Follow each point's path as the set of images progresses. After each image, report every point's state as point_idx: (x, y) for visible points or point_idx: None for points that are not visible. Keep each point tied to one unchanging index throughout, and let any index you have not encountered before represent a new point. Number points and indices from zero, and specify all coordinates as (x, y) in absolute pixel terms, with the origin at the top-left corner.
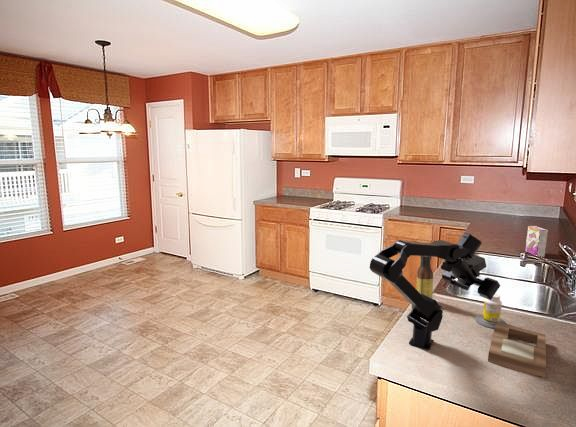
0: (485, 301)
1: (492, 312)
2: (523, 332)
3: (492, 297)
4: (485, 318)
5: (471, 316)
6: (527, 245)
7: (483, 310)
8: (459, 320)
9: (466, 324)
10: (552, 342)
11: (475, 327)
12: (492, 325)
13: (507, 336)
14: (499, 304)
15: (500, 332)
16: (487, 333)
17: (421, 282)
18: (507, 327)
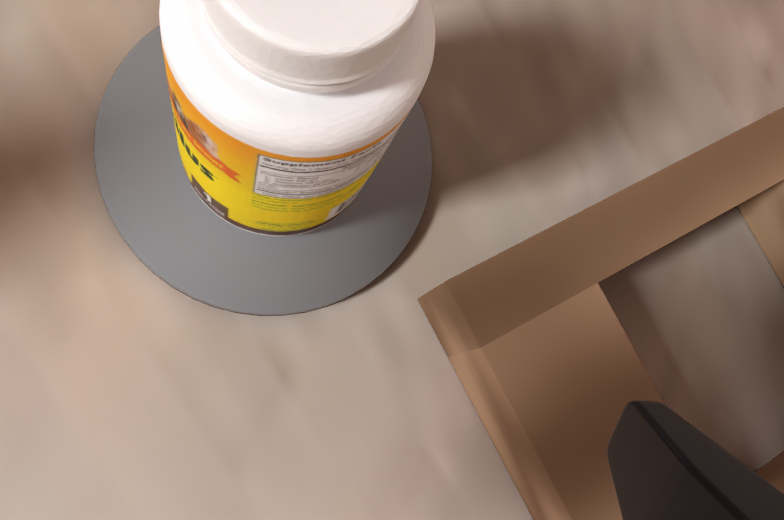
0: (236, 133)
1: (355, 181)
2: (699, 223)
3: (676, 422)
4: (263, 228)
5: (45, 207)
6: None
7: (205, 172)
8: (24, 456)
9: (149, 469)
10: (761, 58)
11: (259, 434)
12: (350, 236)
13: None
14: (432, 55)
15: None
16: (417, 436)
17: None
18: (577, 277)
